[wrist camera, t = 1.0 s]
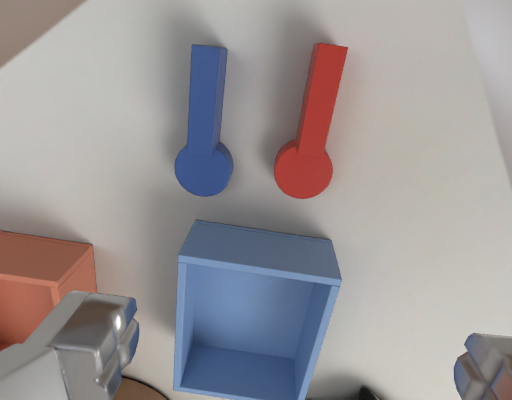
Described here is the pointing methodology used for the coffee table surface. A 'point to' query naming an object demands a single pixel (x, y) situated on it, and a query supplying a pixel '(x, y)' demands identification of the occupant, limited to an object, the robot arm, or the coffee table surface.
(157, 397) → the vase
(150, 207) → the coffee table surface
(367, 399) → the gaming controller
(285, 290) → the blue bin
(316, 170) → the red spoon
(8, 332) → the red bin
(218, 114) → the blue spoon
